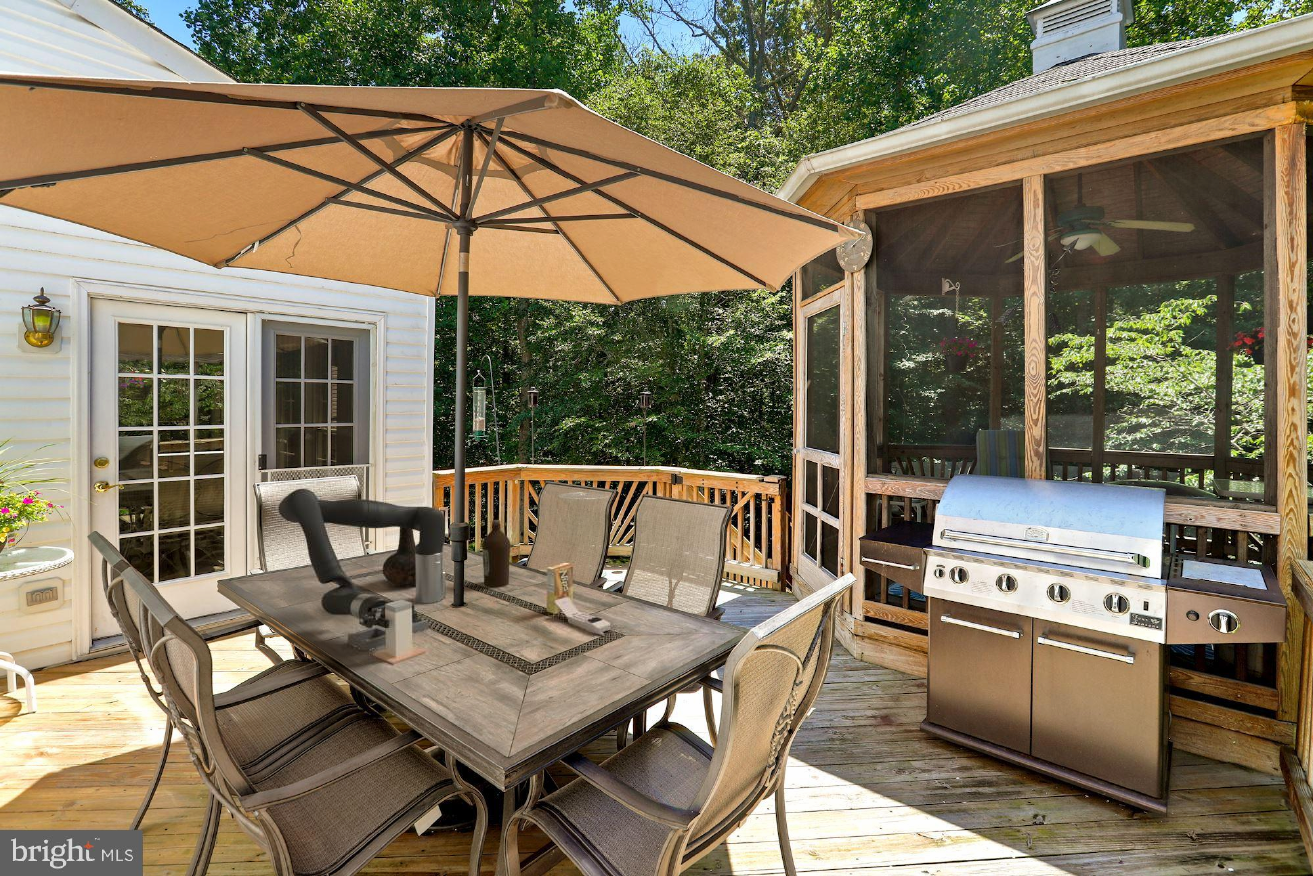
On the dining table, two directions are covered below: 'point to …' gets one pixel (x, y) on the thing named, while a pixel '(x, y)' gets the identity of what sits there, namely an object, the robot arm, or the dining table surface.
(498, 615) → the dining table surface
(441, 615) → the dining table surface
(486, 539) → the olive oil
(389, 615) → the block
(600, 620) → the mobile phone
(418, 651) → the coaster
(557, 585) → the candy box
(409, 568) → the dark brown vase
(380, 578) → the dining table surface
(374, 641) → the charging dock
